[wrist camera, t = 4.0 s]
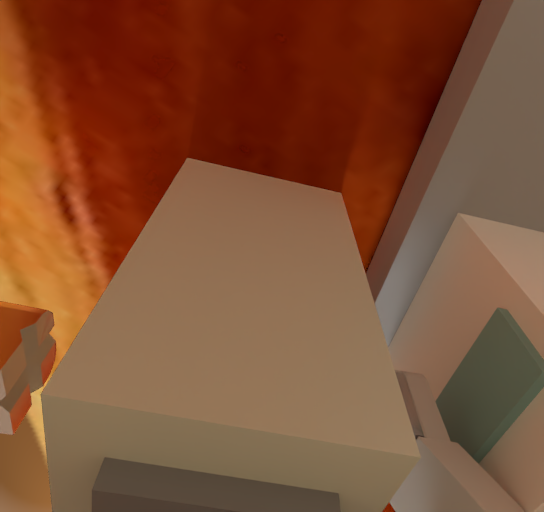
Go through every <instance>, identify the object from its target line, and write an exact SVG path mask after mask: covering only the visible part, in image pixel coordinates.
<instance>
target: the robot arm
mask: <svg viewBox="0 0 544 512" xmlns="http://www.w3.org/2000/svg"><path fill="white" fill-rule="evenodd" d="M53 326H54V319H53V313H52V312H50V311H48V310H43V309H38V308H33V307H28V306H23V305H18V304H13V303H8V302H3V301H0V433H3V434H12V435H14V433H15V431H16V430H17V428H18V426H19V425H20V423H21V421H22V420H23V418H24V417H25V415H26V413H27V412H28V410H29V408H30V407H31V405H32V403H31V396H30V393H32V392H34V391H35V390H37V389H39V388H41V387H42V386H43V385H44V383H45V382H46V380H47V378H48V376H49V375H50V372H51V369H52V367H53V364H54V361H55V355H56V341H55V340H54V339H53V338H52V336H51V335H50V334H49V332H50V331H51V329H52V328H53ZM395 373H396V376H397V380H398V383H399V386H400V390H401V393H402V396H403V399H404V403H405V406H406V409H407V413H408V416H409V419H410V423H411V426H412V429H413V433H414V436H415V439H416V443H417V446H418V449H419V453H420V456H421V458H420V460H419V461H418V462H417V464H416V465H415V466H414V468H413V469H412V471H411V472H410V473H409V475H408V476H407V478H406V479H405V480H404V482H403V483H402V485H401V486H400V487H399V489H398V490H397V492H396V493H395V494H394V496H393V497H392V499H391V500H390V501H389V502H390V504H391V506H392V507H393V509H394V510H395V512H525V511H524V510H523V509H522V508H521V506H520V505H519V504H518V503H517V502H516V501H515V500H514V499H513V498H512V497H511V496H510V495H509V494H508V493H507V492H506V491H505V490H504V489H503V488H502V487H501V486H500V485H499V484H498V483H497V482H496V481H495V480H494V479H493V478H492V477H491V476H490V475H489V474H488V473H487V472H486V471H485V470H484V469H483V468H482V467H481V466H480V465H479V464H478V463H477V462H476V461H475V460H474V459H473V458H472V457H471V456H470V455H469V454H468V453H467V452H466V451H465V450H464V449H463V448H462V447H461V446H460V445H459V444H458V443H456V442H451V441H450V438H449V435H448V433H447V430H446V428H445V425H444V423H443V420H442V417H441V415H440V412H439V410H438V407H437V405H436V402H435V399H434V397H433V394H432V392H431V389H430V387H429V384H428V381H427V379H426V378H425V376H424V375H423V374H419V373H412V372H406V371H398V370H395Z"/></svg>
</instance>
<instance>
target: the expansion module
mask: <svg viewBox="0 0 544 512" xmlns="http://www.w3.org/2000/svg"><path fill="white" fill-rule="evenodd" d="M41 401H42V411H43V422H44V432H45V442H46V453H47V463H48V473H49V484H50V494H51V504H52V512H382V511H383V510H384V508H385V507H386V506H387V504H388V503H389V501H390V500H391V499H392V497H393V496H394V494H395V493H396V492H397V490H398V489H399V487H400V486H401V485H402V483H403V482H404V480H405V479H406V478H407V476H408V475H409V473H410V472H411V471H412V469H413V468H414V466H415V465H416V464H417V462H418V461H419V460H420V458H421V456H420V453H419V449H418V446H417V443H416V439H415V436H414V433H413V429H412V426H411V423H410V419H409V416H408V413H407V409H406V406H405V403H404V399H403V396H402V393H401V390H400V386H399V383H398V380H397V376H396V373H395V370H394V366H393V363H392V360H391V356H390V353H389V350H388V346H387V343H386V340H385V336H384V333H383V330H382V326H381V323H380V320H379V316H378V313H377V310H376V307H375V303H374V300H373V297H372V293H371V290H370V287H369V283H368V280H367V277H366V273H365V270H364V267H363V263H362V260H361V257H360V253H359V250H358V247H357V243H356V240H355V237H354V233H353V230H352V227H351V224H350V220H349V217H348V214H347V210H346V207H345V204H344V200H343V197H342V194H341V193H339V192H335V191H331V190H326V189H322V188H318V187H313V186H309V185H305V184H300V183H296V182H291V181H287V180H283V179H278V178H274V177H270V176H265V175H261V174H257V173H252V172H248V171H243V170H239V169H235V168H230V167H226V166H222V165H217V164H213V163H209V162H204V161H200V160H195V159H191V158H187V159H186V161H185V162H184V164H183V165H182V167H181V169H180V170H179V172H178V174H177V175H176V177H175V178H174V180H173V182H172V183H171V185H170V186H169V188H168V190H167V191H166V193H165V194H164V196H163V198H162V199H161V201H160V203H159V204H158V206H157V207H156V209H155V211H154V212H153V214H152V215H151V217H150V219H149V220H148V222H147V224H146V225H145V227H144V228H143V230H142V232H141V233H140V235H139V236H138V238H137V240H136V241H135V243H134V244H133V246H132V248H131V249H130V251H129V253H128V254H127V256H126V257H125V259H124V261H123V262H122V264H121V265H120V267H119V269H118V270H117V272H116V274H115V275H114V277H113V278H112V280H111V282H110V283H109V285H108V286H107V288H106V290H105V291H104V293H103V294H102V296H101V298H100V299H99V301H98V303H97V304H96V306H95V307H94V309H93V311H92V312H91V314H90V315H89V317H88V319H87V320H86V322H85V324H84V325H83V327H82V328H81V330H80V332H79V333H78V335H77V336H76V338H75V340H74V341H73V343H72V344H71V346H70V348H69V349H68V351H67V353H66V354H65V356H64V357H63V359H62V361H61V362H60V364H59V365H58V367H57V369H56V370H55V372H54V374H53V375H52V377H51V378H50V380H49V382H48V383H47V385H46V386H45V388H44V390H43V391H42V393H41Z"/></svg>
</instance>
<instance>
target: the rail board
mask: <svg viewBox="0 0 544 512" xmlns="http://www.w3.org/2000/svg"><path fill="white" fill-rule="evenodd" d="M366 277H367V280H368V283H369V287H370V290H371V293H372V297H373V300H374V303H375V307H376V310H377V313H378V316H379V320H380V323H381V326H382V330H383V333H384V336H385V340H386V343H387V346H388V350H389V353H390V356H391V360H392V363H393V366H394V370H398V371H406V372H412V373H419V374H423V375H424V376H425V378H426V379H427V381H428V384H429V387H430V389H431V392H432V394H433V397H434V399H435V402H436V405H437V407H438V410H439V412H440V415H441V417H442V420H443V423H444V425H445V428H446V430H447V433H448V435H449V438H450V441H451V442H456V443H458V444H459V445H460V446H461V447H462V448H463V449H464V450H465V451H466V452H467V453H468V454H469V455H470V456H471V457H472V458H473V459H474V460H475V461H476V462H477V463H478V464H479V465H480V466H481V467H482V468H483V469H484V470H485V471H486V472H487V473H488V474H489V475H490V476H491V477H492V478H493V479H494V480H495V481H496V482H497V483H498V484H499V485H500V486H501V487H502V488H503V489H504V490H505V491H506V492H507V493H508V494H509V495H510V496H511V497H512V498H513V499H514V500H515V501H516V502H517V503H518V504H519V505H520V506H521V508H522V509H523V510H524V511H525V512H544V0H482V1H481V4H480V6H479V8H478V11H477V13H476V15H475V18H474V20H473V22H472V25H471V27H470V30H469V32H468V34H467V37H466V39H465V41H464V44H463V46H462V48H461V51H460V53H459V55H458V58H457V60H456V63H455V65H454V67H453V70H452V72H451V74H450V77H449V79H448V81H447V84H446V86H445V88H444V91H443V93H442V96H441V98H440V100H439V103H438V105H437V107H436V110H435V112H434V114H433V117H432V119H431V122H430V124H429V126H428V129H427V131H426V133H425V136H424V138H423V140H422V143H421V145H420V147H419V150H418V152H417V155H416V157H415V159H414V162H413V164H412V166H411V169H410V171H409V173H408V176H407V178H406V180H405V183H404V185H403V188H402V190H401V192H400V195H399V197H398V199H397V202H396V204H395V206H394V209H393V211H392V213H391V216H390V218H389V221H388V223H387V225H386V228H385V230H384V232H383V235H382V237H381V239H380V242H379V244H378V246H377V249H376V251H375V254H374V256H373V258H372V261H371V263H370V265H369V268H368V270H367V272H366Z"/></svg>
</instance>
